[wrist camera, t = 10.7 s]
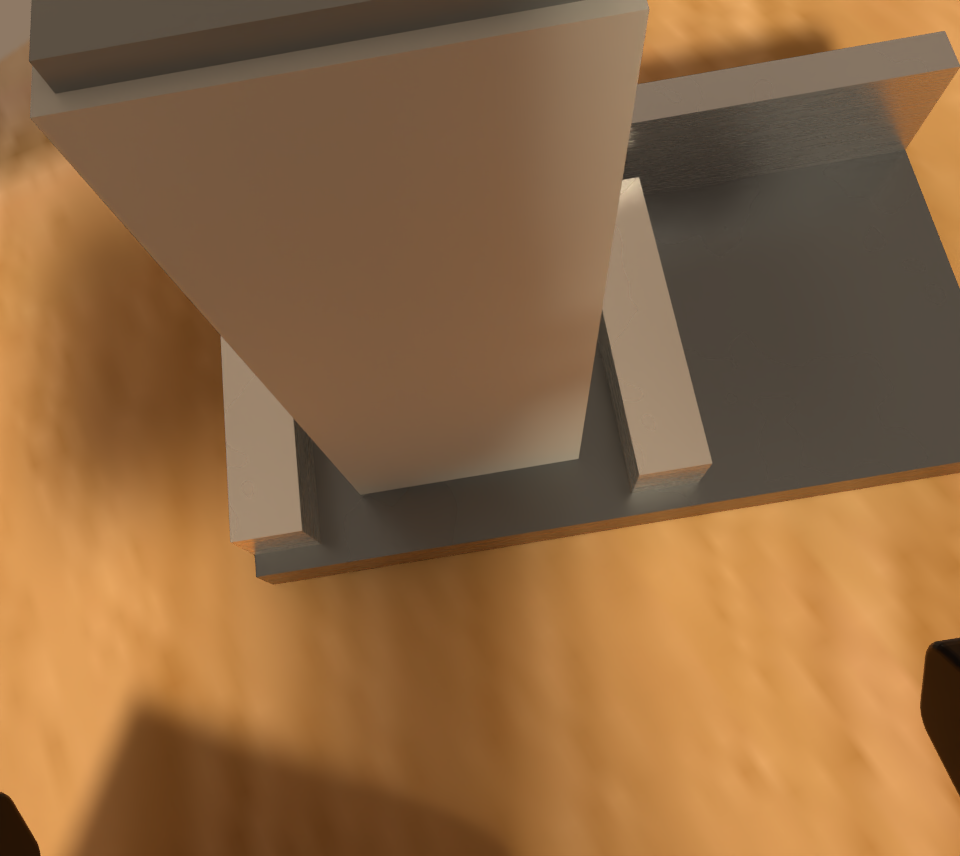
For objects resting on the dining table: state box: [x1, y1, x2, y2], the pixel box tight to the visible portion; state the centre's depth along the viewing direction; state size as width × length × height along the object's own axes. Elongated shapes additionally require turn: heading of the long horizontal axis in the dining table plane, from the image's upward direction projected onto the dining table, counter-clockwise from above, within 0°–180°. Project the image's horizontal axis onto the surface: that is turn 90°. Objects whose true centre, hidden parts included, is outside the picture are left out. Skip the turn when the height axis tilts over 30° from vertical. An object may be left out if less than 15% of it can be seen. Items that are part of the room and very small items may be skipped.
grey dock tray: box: [221, 31, 960, 584], centre depth 18 cm, size 9×17×4 cm, turn 99°
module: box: [29, 0, 649, 495], centre depth 13 cm, size 5×5×13 cm
